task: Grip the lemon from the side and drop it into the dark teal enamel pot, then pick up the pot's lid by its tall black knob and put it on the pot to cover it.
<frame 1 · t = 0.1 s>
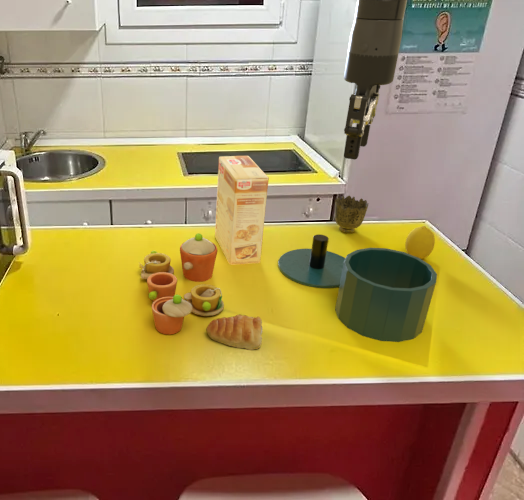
hand: (355, 151, 88), 28 cm above the counter, tool pointing down, fingers open, 8 cm apart
lid: (316, 268, 107), point 1 cm above the counter
lemon: (415, 260, 112), on the counter
pastry: (238, 339, 87), on the counter
pot: (377, 318, 93), on the counter
cup: (346, 233, 124), on the counter
coffeecake box: (236, 250, 116), on the counter
toy tea set: (182, 298, 98), on the counter
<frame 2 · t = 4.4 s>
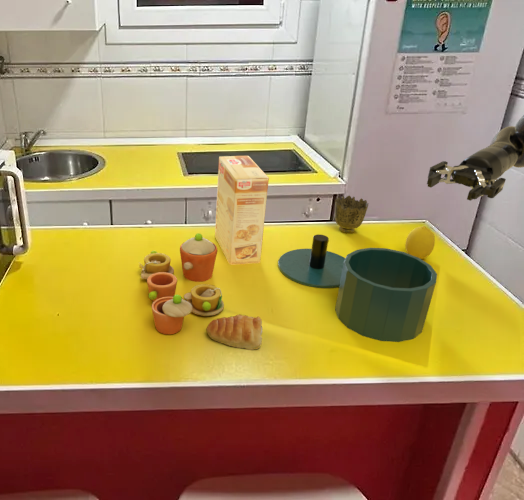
hand: (449, 189, 110), 14 cm above the counter, tool horizontal, fingers open, 8 cm apart
nothing on the counter moved.
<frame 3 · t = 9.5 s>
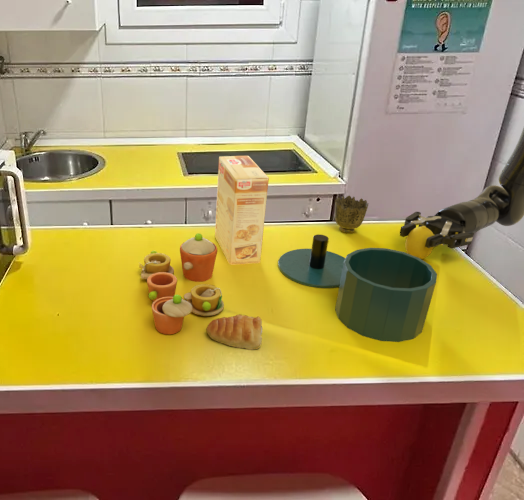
hand: (414, 237, 108), 6 cm above the counter, tool horizontal, fingers closed on lemon, 5 cm apart
lemon: (415, 260, 112), on the counter, touching gripper
everything else where it was.
when the fingers open (12 cm above the counter, at t = 17.7 s): lemon drops 4 cm, resting on pot.
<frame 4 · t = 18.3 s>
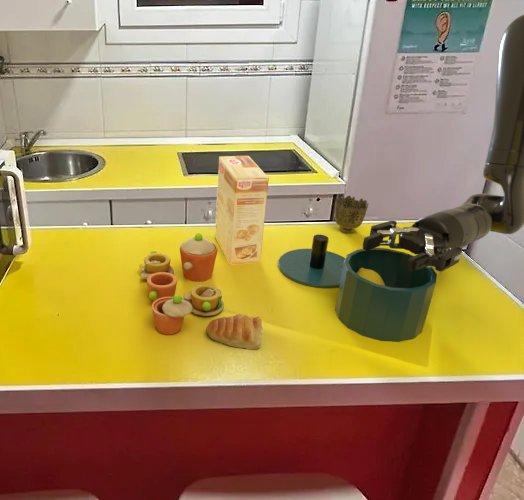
hand: (386, 254, 85), 14 cm above the counter, tool horizontal, fingers open, 8 cm apart
lemon: (377, 311, 92), point 1 cm above the counter, touching pot
everything else where it was.
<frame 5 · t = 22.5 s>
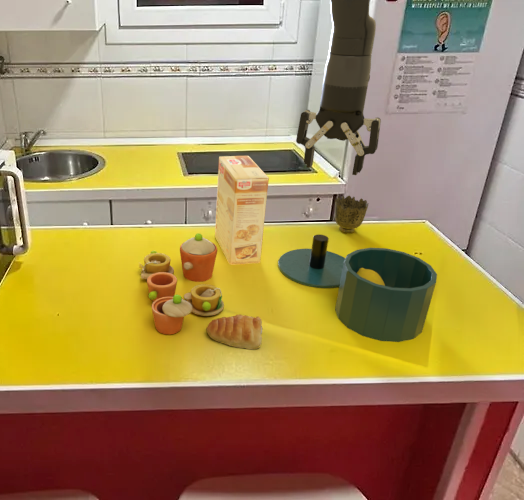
hand: (331, 170, 98), 22 cm above the counter, tool pointing down, fingers open, 8 cm apart
nothing on the counter moved.
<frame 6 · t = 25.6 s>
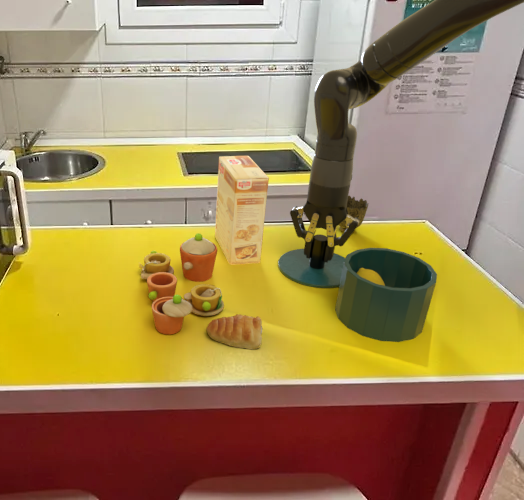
hand: (317, 258, 106), 3 cm above the counter, tool pointing down, fingers closed on lid, 3 cm apart
lid: (316, 268, 107), point 1 cm above the counter, touching gripper
everything else where it was.
when the fingers open (13 cm above the counter, at t = 31.8 s): lid stays where it is, resting on pot.
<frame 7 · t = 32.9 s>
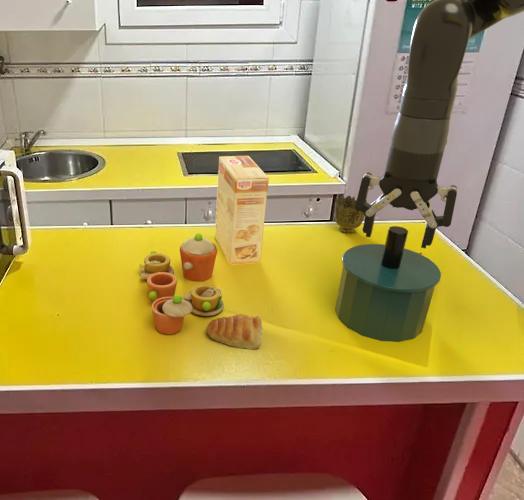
hand: (395, 240, 85), 16 cm above the counter, tool pointing down, fingers open, 8 cm apart
lid: (389, 267, 88), point 10 cm above the counter, touching pot
everything else where it was.
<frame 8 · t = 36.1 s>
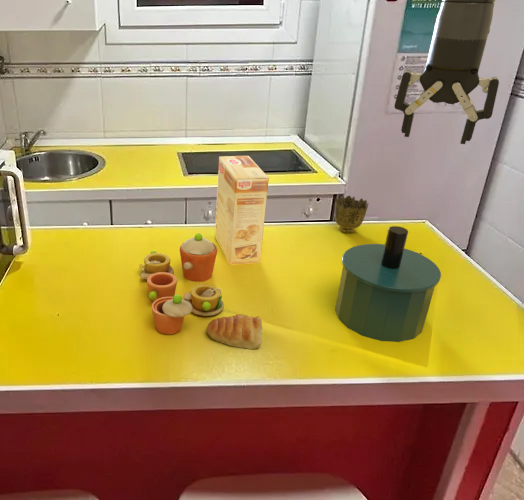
hand: (434, 139, 86), 30 cm above the counter, tool pointing down, fingers open, 8 cm apart
nothing on the counter moved.
at the end: lemon inside the target area in the pot (0.6 cm from its centre), point 1.3 cm above the pot's base; lid 0.1 cm off-centre on the pot, point 10.5 cm above the pot's base; lid tilted 0° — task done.
